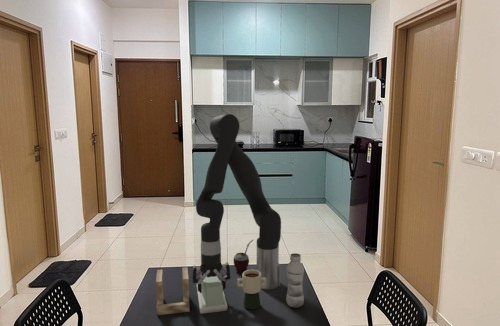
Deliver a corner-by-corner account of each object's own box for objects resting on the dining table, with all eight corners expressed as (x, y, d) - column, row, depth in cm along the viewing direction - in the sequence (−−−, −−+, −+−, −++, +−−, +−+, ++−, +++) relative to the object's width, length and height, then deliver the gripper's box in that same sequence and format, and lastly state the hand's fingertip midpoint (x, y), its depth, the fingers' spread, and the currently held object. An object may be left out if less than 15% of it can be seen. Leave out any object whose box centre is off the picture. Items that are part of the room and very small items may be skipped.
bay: (188, 295, 143) (187, 267, 141) (189, 311, 132) (188, 280, 130) (158, 298, 141) (157, 269, 139) (157, 315, 130) (155, 284, 128)
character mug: (265, 300, 139) (265, 269, 137) (267, 310, 132) (267, 277, 130) (237, 301, 138) (236, 269, 137) (237, 311, 131) (237, 278, 130)
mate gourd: (230, 271, 164) (230, 240, 162) (242, 266, 170) (241, 235, 168) (242, 276, 159) (242, 244, 157) (254, 270, 165) (254, 239, 163)
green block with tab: (214, 287, 149) (213, 270, 149) (223, 304, 133) (222, 285, 132) (199, 289, 147) (199, 272, 147) (207, 307, 131) (206, 288, 131)
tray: (220, 284, 152) (220, 280, 151) (227, 310, 132) (227, 305, 132) (196, 287, 150) (196, 282, 149) (200, 313, 130) (200, 308, 130)
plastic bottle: (303, 311, 132) (304, 259, 129) (285, 309, 133) (285, 258, 130) (304, 301, 138) (305, 252, 135) (286, 300, 139) (287, 251, 136)
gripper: (227, 245, 141) (228, 284, 143) (191, 248, 138) (192, 288, 140) (231, 252, 133) (231, 293, 136) (192, 256, 130) (193, 297, 133)
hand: (211, 290), depth 138 cm, fingers open, 8 cm apart
